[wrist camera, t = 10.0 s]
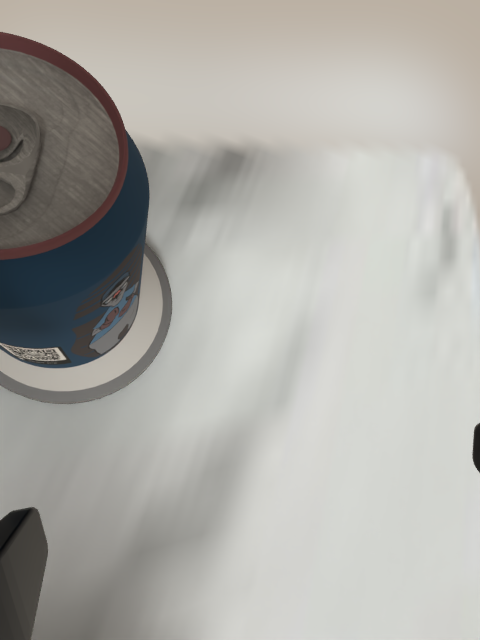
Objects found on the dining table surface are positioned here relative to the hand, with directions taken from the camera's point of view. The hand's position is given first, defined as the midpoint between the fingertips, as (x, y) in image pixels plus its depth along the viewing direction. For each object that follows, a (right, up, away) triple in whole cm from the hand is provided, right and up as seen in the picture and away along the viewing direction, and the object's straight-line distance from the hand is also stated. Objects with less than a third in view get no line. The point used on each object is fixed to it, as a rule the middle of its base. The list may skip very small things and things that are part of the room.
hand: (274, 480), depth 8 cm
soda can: (-9, +4, +12) cm, 16 cm away
